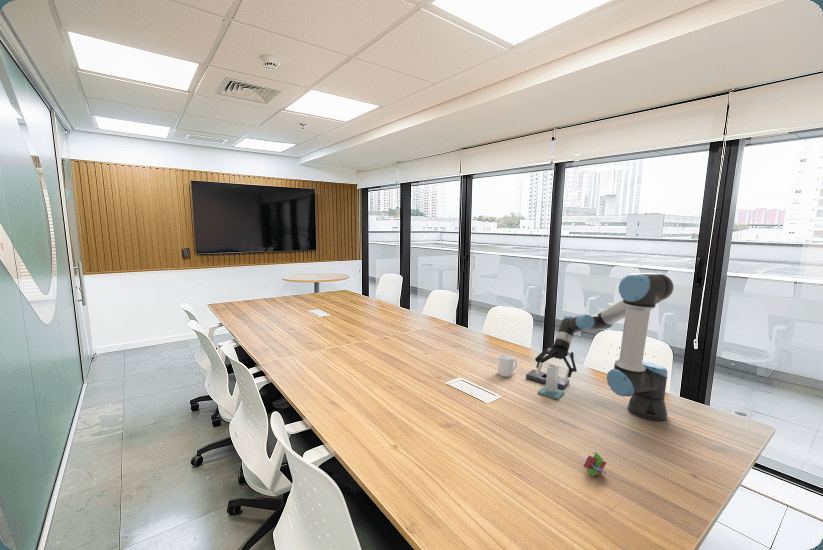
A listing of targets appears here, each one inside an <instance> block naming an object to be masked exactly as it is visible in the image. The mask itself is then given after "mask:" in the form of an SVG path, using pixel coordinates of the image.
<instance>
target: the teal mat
mask: <svg viewBox="0 0 823 550" xmlns="http://www.w3.org/2000/svg"><path fill="white" fill-rule="evenodd" d="M545 390H546V385H544V386H542V387H541V388H540V389H539V390H538V391H537V395H540V396H544V397H546V398H550V399H553V400H557V401H559V400H560V399H561V397H562V396H563V395H564V394H565V391H564V390H562V389H559V388H557V392H556V393H555V394H551V393H548V392H545Z"/></svg>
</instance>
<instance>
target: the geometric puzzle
mask: <svg viewBox="0 0 823 550" xmlns="http://www.w3.org/2000/svg"><path fill="white" fill-rule="evenodd" d="M593 454H594V455H593V456H592V455H589V454H584V455H583V457H582V459H581V463H582V467H583V468H584V469H586V470H587V471H588V473H589V474H590V475H591V476H593V478H595V477H596V474H597V473H598V474H597V476H600V474H602V473H603V474H606V470H605V466H606V465H607V461H605V460H604V459H603V457H601V456H600V455H599V453H597V452H596V451H595V452H593Z"/></svg>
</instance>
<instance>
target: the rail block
mask: <svg viewBox="0 0 823 550" xmlns="http://www.w3.org/2000/svg"><path fill="white" fill-rule="evenodd" d="M536 372H537V369H535V368H534V369H533V368H532V369H531V370H530V371H528V373H526V374H525V379H526V380H530V381H532V382H533V381H534V382H536V383H538V384H539V383H540V384H543V385H546V377H547V372H545V371H540V373H539V376H537V374H536ZM564 379H565V377H562V376H559V375H558V388H557V389H559V390H564V389H565V388H567V386H568V385H570V379H569V378H568V380H567V383H566V384H565V383H564Z"/></svg>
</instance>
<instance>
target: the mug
mask: <svg viewBox="0 0 823 550" xmlns="http://www.w3.org/2000/svg"><path fill="white" fill-rule="evenodd" d="M517 364H518V362H517V360H516V358H514V356H513V355H510V354H499V355H498V365H497V373H498V375H499V376H501V377H504V378H505V377H507V378H509V377H512V376H513V374H514V370H516V368H517V366H518V365H517Z"/></svg>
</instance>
